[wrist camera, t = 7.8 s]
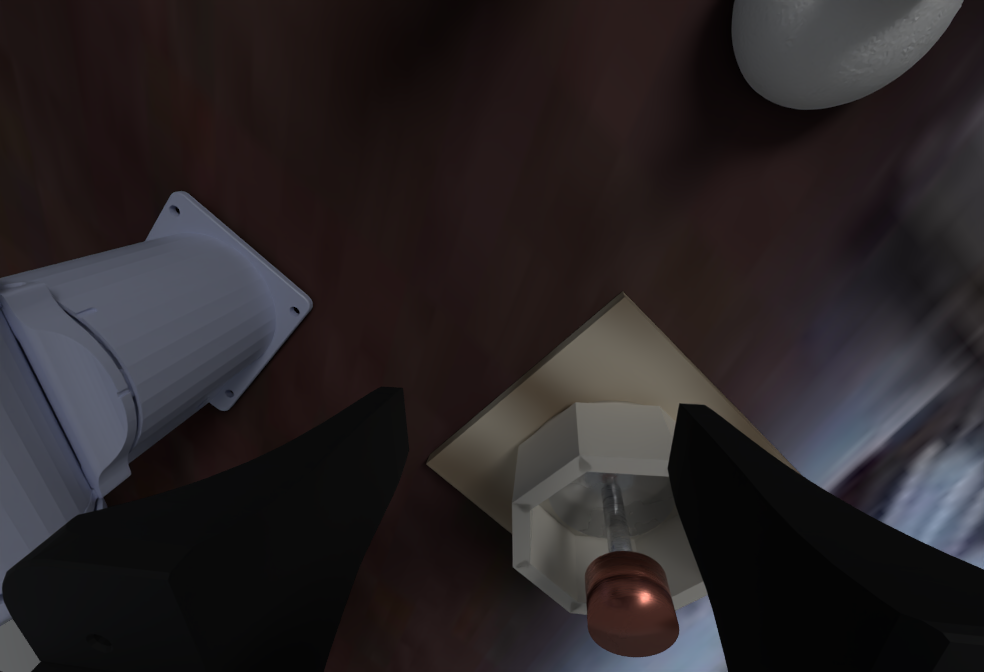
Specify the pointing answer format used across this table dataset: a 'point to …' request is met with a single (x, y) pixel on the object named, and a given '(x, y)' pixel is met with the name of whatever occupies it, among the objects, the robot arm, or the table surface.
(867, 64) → the garlic bulb
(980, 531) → the table surface
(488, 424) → the board
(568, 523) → the plunger
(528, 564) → the press carafe
